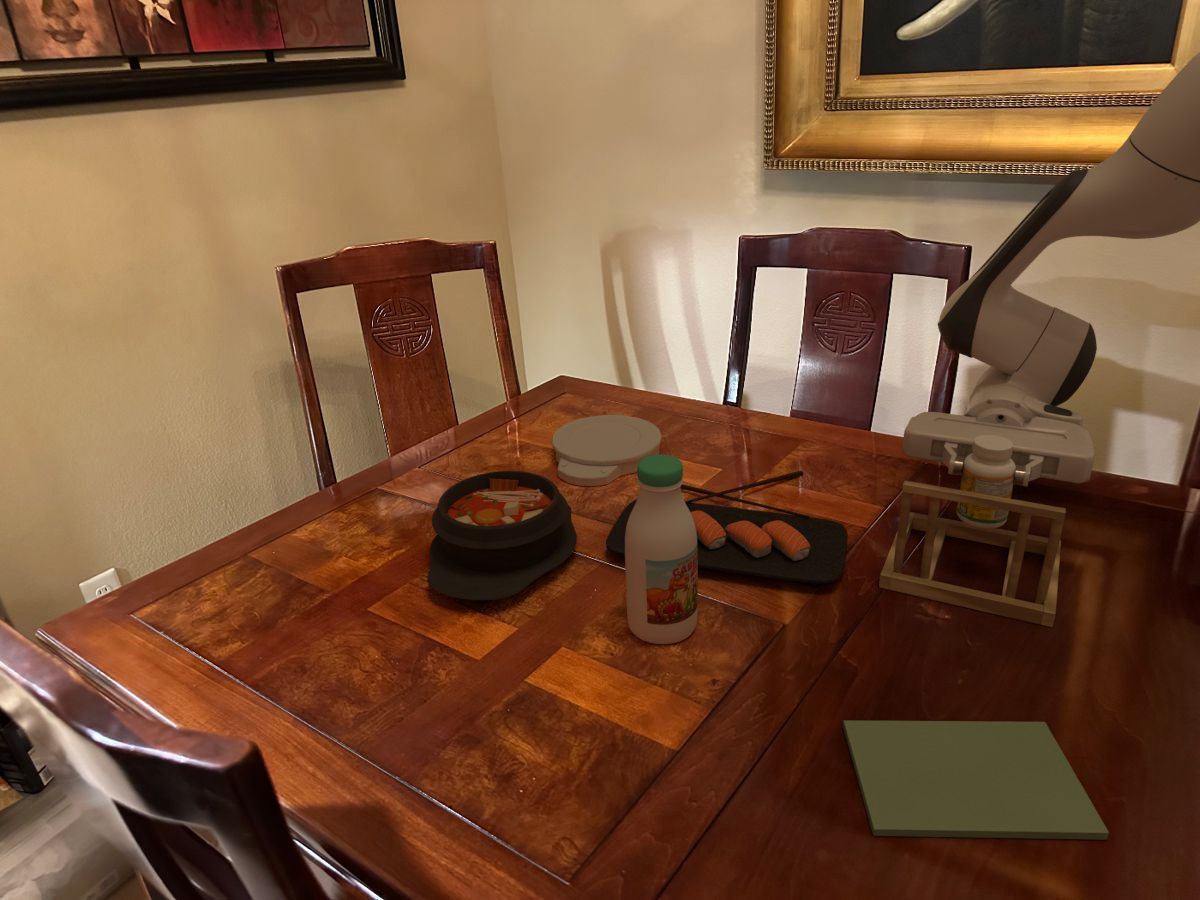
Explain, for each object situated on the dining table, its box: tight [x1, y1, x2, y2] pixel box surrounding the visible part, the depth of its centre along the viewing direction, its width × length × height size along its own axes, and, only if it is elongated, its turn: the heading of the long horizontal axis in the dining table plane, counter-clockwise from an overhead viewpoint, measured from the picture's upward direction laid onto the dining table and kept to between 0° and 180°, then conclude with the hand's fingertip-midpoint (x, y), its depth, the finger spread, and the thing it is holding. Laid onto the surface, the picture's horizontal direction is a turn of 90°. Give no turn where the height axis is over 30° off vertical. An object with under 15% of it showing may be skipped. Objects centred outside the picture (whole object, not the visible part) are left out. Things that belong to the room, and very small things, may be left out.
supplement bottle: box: [956, 435, 1016, 529], centre depth 94 cm, size 5×5×10 cm
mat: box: [842, 719, 1110, 841], centre depth 72 cm, size 18×12×1 cm, turn 87°
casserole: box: [426, 470, 578, 601], centre depth 105 cm, size 25×19×8 cm
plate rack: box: [878, 480, 1067, 628], centre depth 97 cm, size 16×18×13 cm
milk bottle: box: [624, 453, 699, 645], centre depth 89 cm, size 8×8×20 cm
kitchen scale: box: [551, 414, 663, 487], centre depth 131 cm, size 17×20×3 cm
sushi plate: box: [605, 470, 849, 585], centre depth 112 cm, size 29×30×4 cm
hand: (988, 474), depth 93 cm, fingers closed on supplement bottle, 5 cm apart
